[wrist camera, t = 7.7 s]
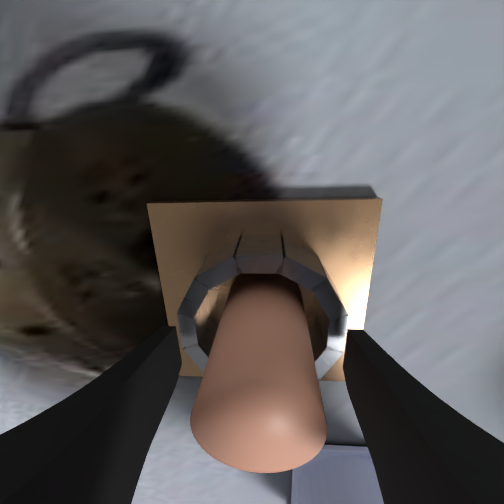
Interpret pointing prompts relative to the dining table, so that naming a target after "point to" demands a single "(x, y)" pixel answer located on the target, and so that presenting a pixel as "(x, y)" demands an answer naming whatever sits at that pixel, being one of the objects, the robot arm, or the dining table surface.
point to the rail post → (261, 381)
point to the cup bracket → (266, 265)
